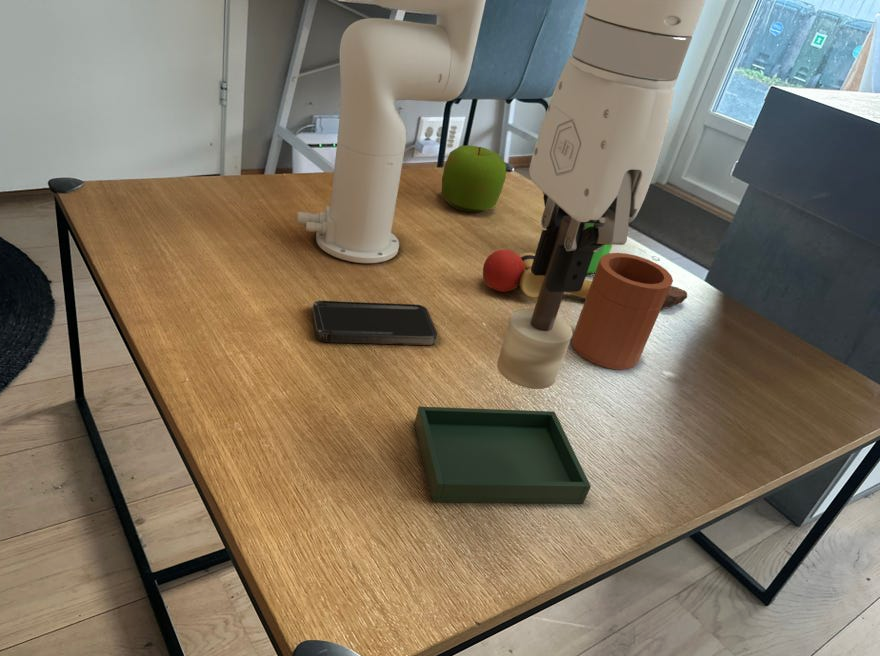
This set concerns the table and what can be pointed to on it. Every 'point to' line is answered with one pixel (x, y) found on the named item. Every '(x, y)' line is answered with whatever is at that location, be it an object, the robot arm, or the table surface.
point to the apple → (473, 178)
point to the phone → (373, 323)
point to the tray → (498, 456)
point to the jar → (620, 310)
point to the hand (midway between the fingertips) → (555, 280)
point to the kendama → (517, 274)
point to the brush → (537, 335)
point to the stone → (674, 297)
